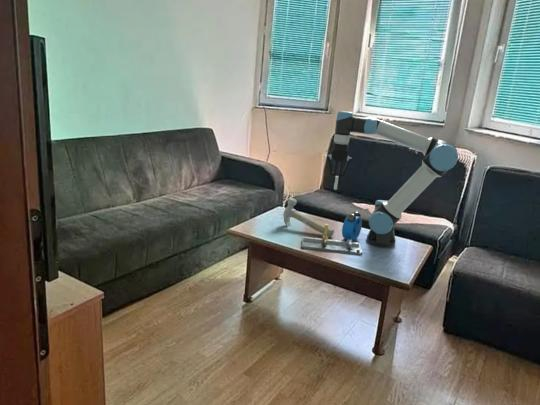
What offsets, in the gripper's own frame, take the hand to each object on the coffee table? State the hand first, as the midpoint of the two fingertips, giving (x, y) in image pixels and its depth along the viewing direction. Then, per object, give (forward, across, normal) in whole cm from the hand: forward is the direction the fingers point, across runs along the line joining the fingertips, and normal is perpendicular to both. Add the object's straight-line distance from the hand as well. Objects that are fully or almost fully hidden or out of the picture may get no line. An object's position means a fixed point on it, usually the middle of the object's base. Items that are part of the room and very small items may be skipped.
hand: (335, 188), depth 227 cm
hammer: (+29, +11, -12) cm, 33 cm away
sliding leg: (+27, +2, +9) cm, 28 cm away
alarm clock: (+29, -12, -6) cm, 32 cm away
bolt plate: (+28, -1, +10) cm, 30 cm away
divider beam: (+27, -1, +9) cm, 29 cm away
